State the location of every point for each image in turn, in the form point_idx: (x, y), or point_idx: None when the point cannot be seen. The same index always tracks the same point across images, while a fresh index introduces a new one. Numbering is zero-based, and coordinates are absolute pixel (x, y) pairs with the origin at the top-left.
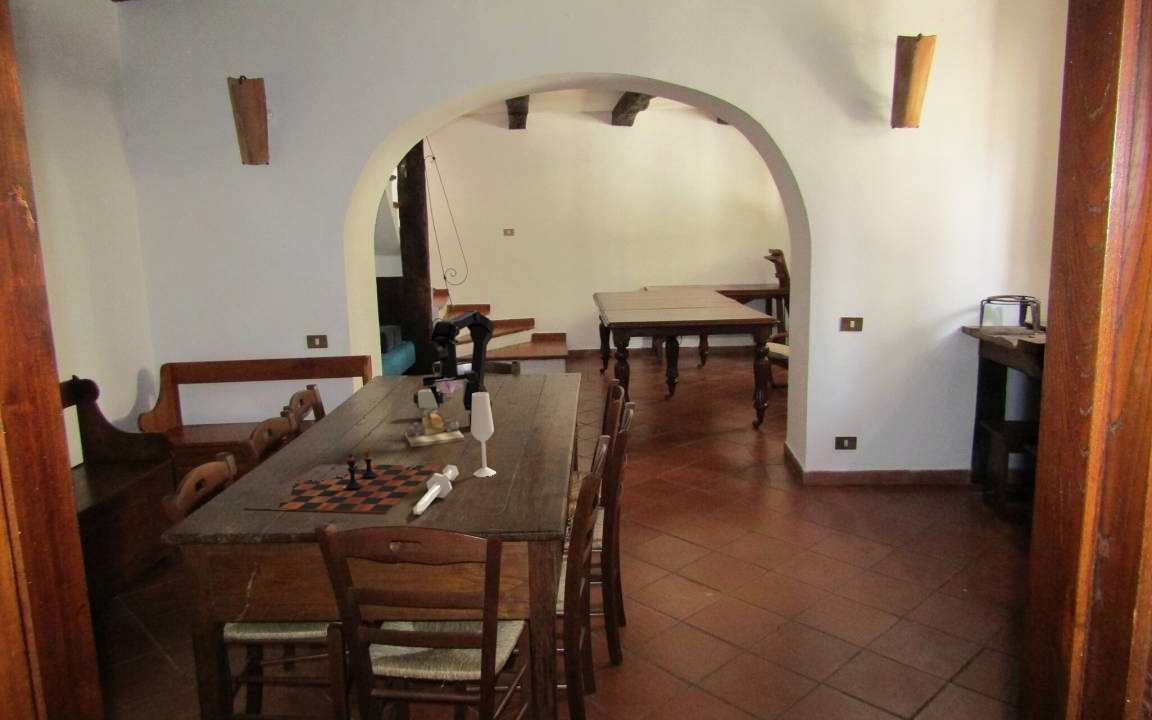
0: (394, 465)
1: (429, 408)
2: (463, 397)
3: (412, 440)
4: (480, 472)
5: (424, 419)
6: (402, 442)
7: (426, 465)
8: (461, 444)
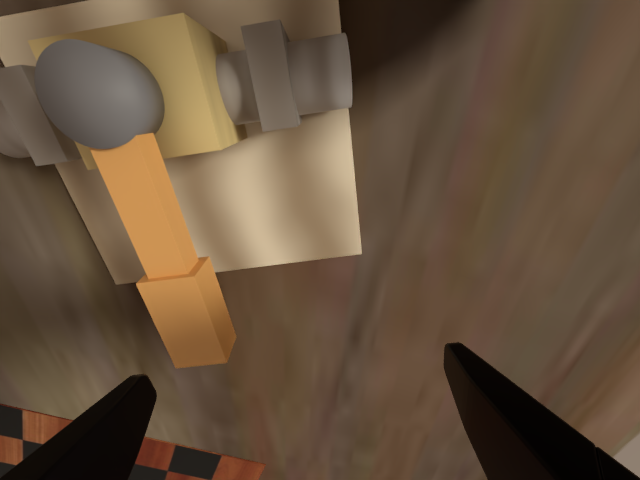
0: None
1: None
2: (465, 394)
3: (103, 233)
4: None
5: None
6: (49, 181)
7: (225, 456)
8: (339, 298)
